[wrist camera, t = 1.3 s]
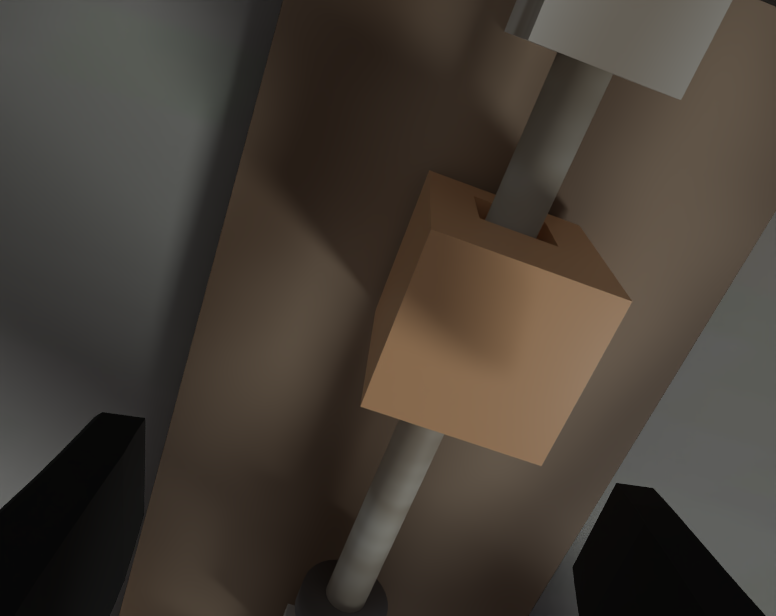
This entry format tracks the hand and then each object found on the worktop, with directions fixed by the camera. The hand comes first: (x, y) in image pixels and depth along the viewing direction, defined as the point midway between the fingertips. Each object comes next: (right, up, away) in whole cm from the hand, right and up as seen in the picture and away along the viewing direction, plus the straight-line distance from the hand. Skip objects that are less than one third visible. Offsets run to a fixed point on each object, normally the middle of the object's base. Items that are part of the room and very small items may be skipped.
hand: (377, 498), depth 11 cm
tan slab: (0, -1, +11) cm, 11 cm away
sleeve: (+2, +4, +7) cm, 9 cm away
